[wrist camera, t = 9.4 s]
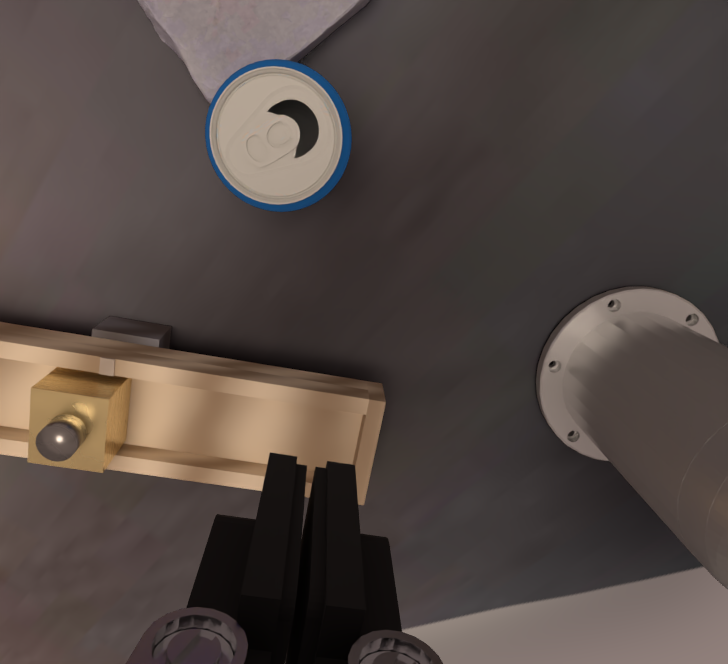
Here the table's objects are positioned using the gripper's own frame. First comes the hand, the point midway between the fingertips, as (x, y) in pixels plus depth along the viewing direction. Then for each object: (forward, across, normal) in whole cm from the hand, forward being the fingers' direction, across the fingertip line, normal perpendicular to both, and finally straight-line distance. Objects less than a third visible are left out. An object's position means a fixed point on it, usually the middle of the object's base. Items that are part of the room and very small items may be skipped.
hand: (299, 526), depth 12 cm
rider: (+25, +12, +10) cm, 29 cm away
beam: (+29, +11, +10) cm, 33 cm away
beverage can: (+29, +3, -7) cm, 30 cm away
